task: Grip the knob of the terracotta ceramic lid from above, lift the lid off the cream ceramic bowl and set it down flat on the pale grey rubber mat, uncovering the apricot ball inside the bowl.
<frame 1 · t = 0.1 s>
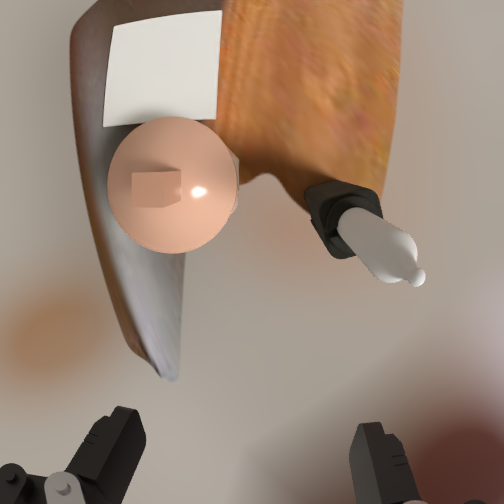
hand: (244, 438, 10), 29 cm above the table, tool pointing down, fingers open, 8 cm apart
lid: (169, 185, 30), point 6 cm above the table, touching bowl
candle: (327, 203, 36), on the table
mat: (160, 66, 32), on the table
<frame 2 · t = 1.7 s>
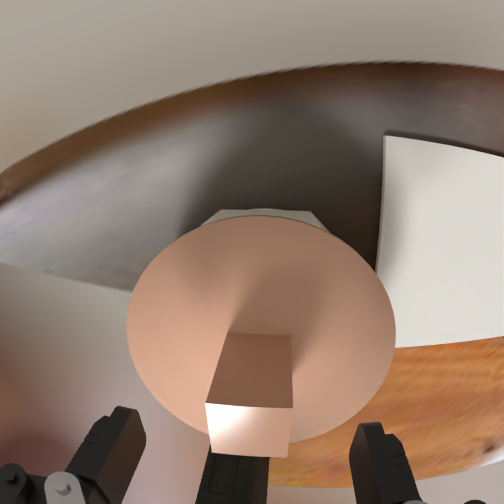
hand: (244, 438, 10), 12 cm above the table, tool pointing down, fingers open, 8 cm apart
lid: (259, 350, 16), point 6 cm above the table, touching bowl
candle: (240, 450, 26), on the table
bowl: (264, 302, 21), on the table
mat: (465, 252, 19), on the table
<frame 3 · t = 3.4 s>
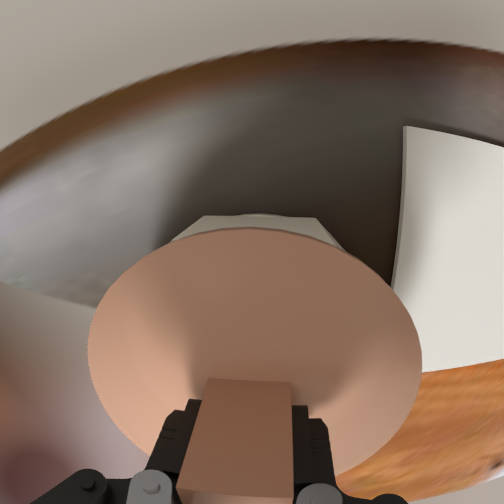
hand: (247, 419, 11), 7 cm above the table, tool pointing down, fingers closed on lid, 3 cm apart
lid: (250, 395, 12), point 6 cm above the table, touching bowl, gripper
bowl: (258, 326, 18), on the table
mat: (490, 264, 16), on the table
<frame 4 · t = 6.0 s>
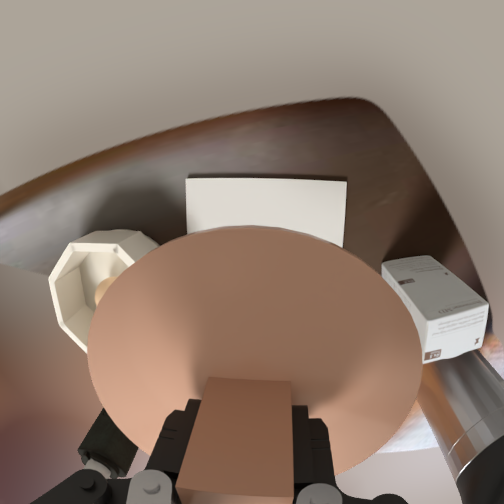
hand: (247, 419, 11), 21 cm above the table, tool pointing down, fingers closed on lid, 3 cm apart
skincare box: (404, 277, 30), on the table
lid: (250, 394, 12), point 19 cm above the table, touching gripper
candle: (137, 396, 38), on the table
bowl: (127, 286, 33), on the table
mat: (264, 255, 30), on the table
ball: (115, 297, 29), point 3 cm above the table, touching bowl
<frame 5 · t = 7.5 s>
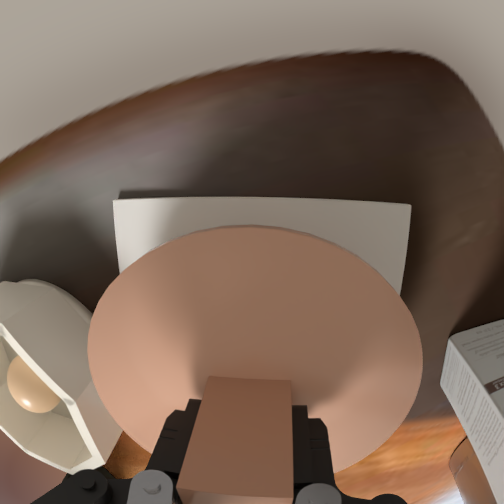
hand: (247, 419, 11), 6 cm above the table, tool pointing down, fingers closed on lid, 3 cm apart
skincare box: (473, 351, 16), on the table
lid: (251, 393, 12), point 5 cm above the table, touching gripper
bowl: (57, 359, 19), on the table
mat: (257, 335, 17), on the table
ball: (34, 382, 16), point 3 cm above the table, touching bowl
when the fingers open (3 cm above the table, at t = 8.7 s): lid drops 2 cm, resting on mat.
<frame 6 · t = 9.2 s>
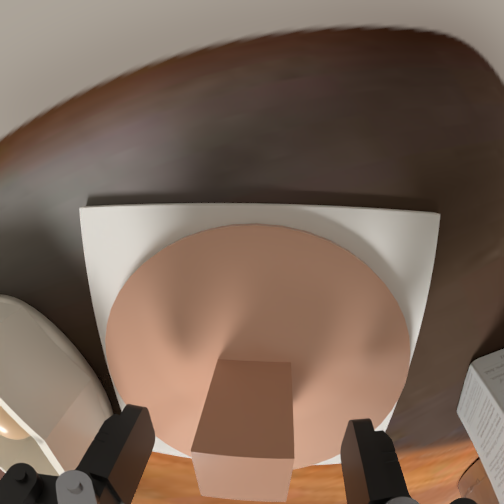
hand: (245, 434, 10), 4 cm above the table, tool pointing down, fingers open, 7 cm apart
skincare box: (493, 374, 14), on the table
lid: (255, 377, 13), resting on mat
bowl: (35, 380, 16), on the table
mat: (253, 367, 14), on the table
ball: (10, 406, 13), point 3 cm above the table, touching bowl
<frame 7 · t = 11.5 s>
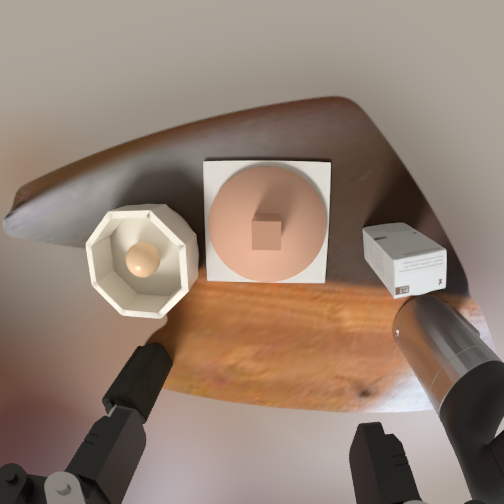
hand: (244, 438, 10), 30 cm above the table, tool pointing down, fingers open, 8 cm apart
skincare box: (382, 241, 38), on the table
lid: (267, 224, 37), resting on mat
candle: (154, 356, 45), on the table
bowl: (152, 252, 40), on the table
mat: (266, 222, 38), on the table
ball: (142, 259, 37), point 3 cm above the table, touching bowl
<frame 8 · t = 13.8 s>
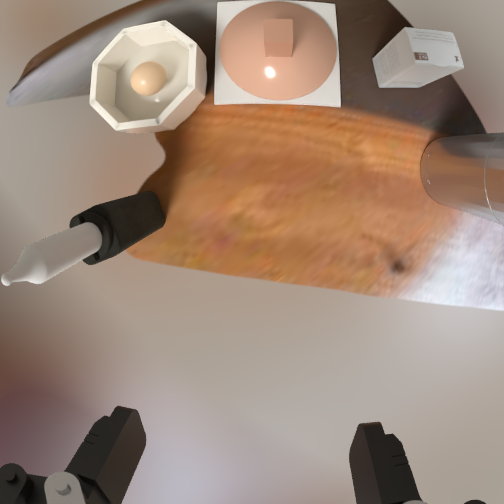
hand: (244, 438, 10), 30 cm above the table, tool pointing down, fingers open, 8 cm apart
skincare box: (394, 74, 31), on the table
lid: (278, 48, 31), resting on mat
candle: (144, 213, 39), on the table
bowl: (158, 84, 34), on the table
mat: (277, 48, 32), on the table
ball: (148, 78, 31), point 3 cm above the table, touching bowl
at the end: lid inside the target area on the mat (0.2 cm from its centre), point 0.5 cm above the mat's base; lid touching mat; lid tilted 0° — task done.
